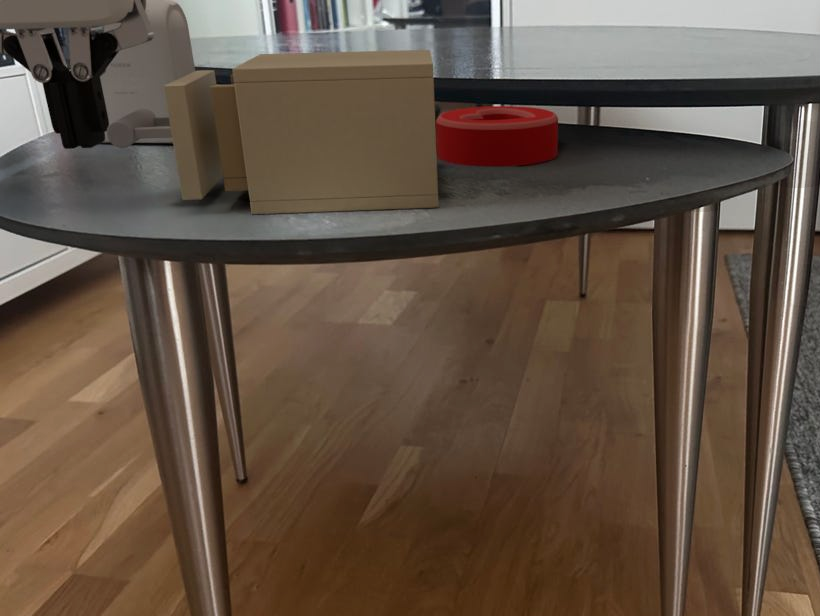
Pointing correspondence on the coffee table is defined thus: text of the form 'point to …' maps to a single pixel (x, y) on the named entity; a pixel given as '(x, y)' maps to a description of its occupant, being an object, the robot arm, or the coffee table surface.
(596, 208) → the coffee table surface
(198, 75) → the drawer
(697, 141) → the coffee table surface
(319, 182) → the cabinet
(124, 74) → the photo printer
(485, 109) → the decorative ornament
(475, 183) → the coffee table surface
